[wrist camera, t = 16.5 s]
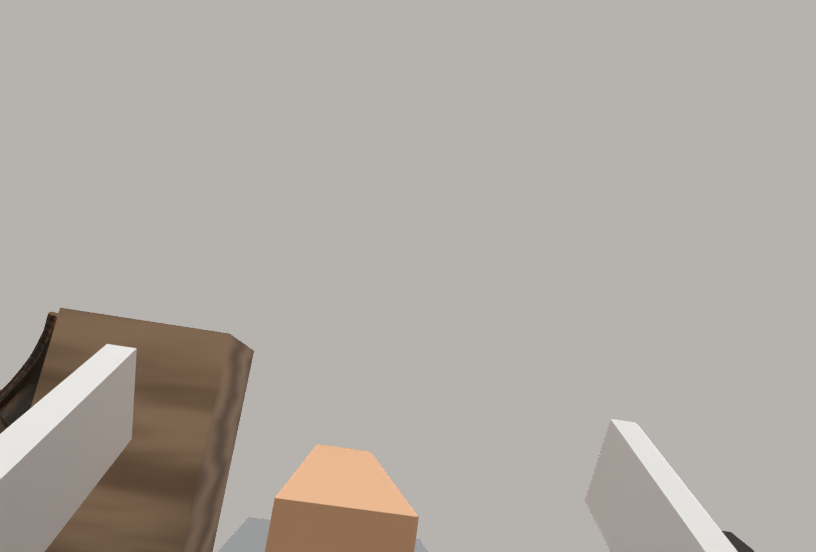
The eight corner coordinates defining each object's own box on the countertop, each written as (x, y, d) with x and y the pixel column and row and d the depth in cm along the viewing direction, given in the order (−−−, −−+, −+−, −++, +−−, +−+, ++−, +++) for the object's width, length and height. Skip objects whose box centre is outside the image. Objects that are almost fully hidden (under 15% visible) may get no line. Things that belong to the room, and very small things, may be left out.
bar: (397, 678, 13) (418, 517, 14) (244, 662, 13) (274, 497, 14) (362, 508, 38) (370, 451, 39) (307, 501, 37) (317, 444, 38)
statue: (-30, 607, 58) (55, 320, 66) (60, 628, 57) (137, 331, 64) (-135, 642, 49) (-21, 300, 56) (-30, 669, 47) (74, 312, 54)
